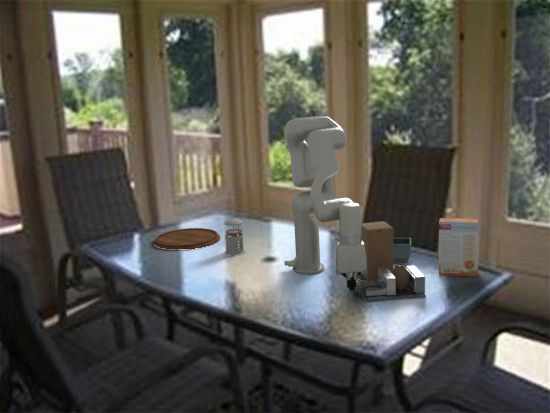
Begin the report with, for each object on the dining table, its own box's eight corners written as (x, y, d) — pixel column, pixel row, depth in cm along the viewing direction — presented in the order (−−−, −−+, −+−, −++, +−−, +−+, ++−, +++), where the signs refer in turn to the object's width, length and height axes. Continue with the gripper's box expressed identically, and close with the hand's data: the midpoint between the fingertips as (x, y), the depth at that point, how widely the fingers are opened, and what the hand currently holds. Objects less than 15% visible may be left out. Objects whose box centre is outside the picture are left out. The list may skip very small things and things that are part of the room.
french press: (220, 255, 266) (215, 199, 261) (231, 247, 277) (227, 193, 271) (240, 256, 263) (236, 200, 257) (251, 248, 273) (248, 194, 267)
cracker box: (478, 272, 228) (479, 218, 224) (477, 277, 223) (479, 222, 218) (439, 269, 233) (439, 217, 228) (438, 275, 228) (438, 221, 223)
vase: (393, 292, 210) (393, 268, 208) (388, 285, 216) (387, 262, 214) (413, 291, 210) (412, 266, 208) (407, 284, 217) (406, 260, 215)
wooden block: (394, 279, 226) (393, 227, 221) (368, 282, 224) (367, 230, 220) (384, 270, 235) (384, 220, 231) (359, 273, 234) (358, 223, 229)
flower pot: (411, 266, 239) (411, 244, 237) (388, 265, 241) (388, 243, 239) (411, 258, 248) (410, 237, 246) (388, 258, 249) (388, 237, 247)
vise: (368, 302, 206) (367, 282, 204) (359, 287, 219) (358, 268, 218) (425, 297, 207) (426, 277, 206) (413, 283, 221) (413, 264, 219)
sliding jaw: (360, 297, 206) (360, 280, 205) (353, 285, 218) (353, 269, 217) (395, 294, 207) (395, 278, 206) (386, 282, 219) (386, 266, 217)
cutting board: (185, 229, 313) (185, 224, 313) (234, 236, 295) (233, 231, 294) (138, 246, 288) (138, 241, 288) (188, 255, 270) (187, 249, 269)
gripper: (330, 243, 204) (331, 295, 208) (374, 240, 204) (375, 292, 208) (327, 237, 211) (328, 287, 215) (370, 234, 211) (370, 284, 216)
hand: (351, 289), depth 212 cm, fingers closed
